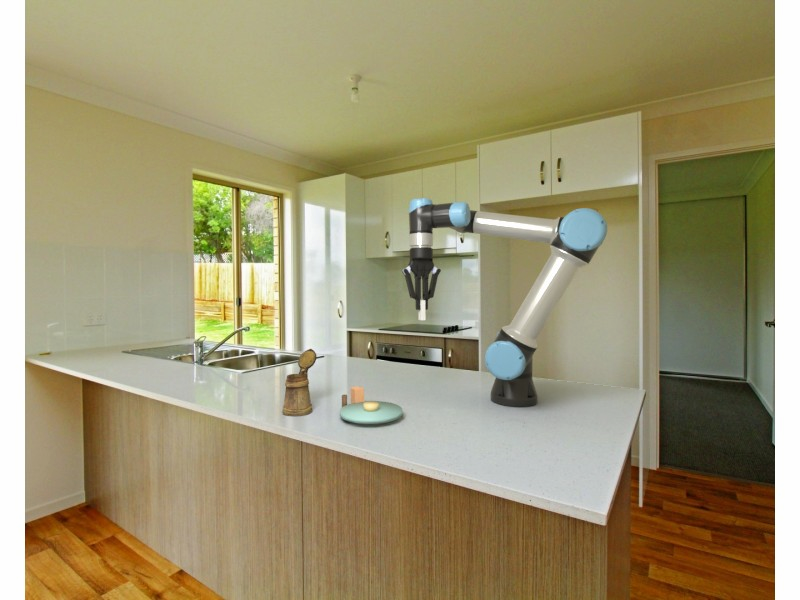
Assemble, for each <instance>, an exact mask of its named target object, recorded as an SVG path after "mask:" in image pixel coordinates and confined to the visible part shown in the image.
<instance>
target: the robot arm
mask: <svg viewBox="0 0 800 600" xmlns="http://www.w3.org/2000/svg"><path fill="white" fill-rule="evenodd" d="M408 208H409V209H408V210H409V211H408V221H409V222H408V223H409V225H408V226H409V227H408V228H409V247H410V248H409V263H408V266H407V267H405V268H403V269H401V272H402V274H403V275H404V278H405V284H406V286H407V291H408V293H409V297H410V299H414V300H415V310H416V311H418V319H417V320H418V321H427V320H426V318H427V317H426V311H427V310H429V300H430V299H432V298H434V295H435V293H436V292H435V291H436V287H437V281H438V276H439V275H440V274H441V268H437V267H436V266H435V264H434V256H433V255H434V249H433V248H432V247H433V245H434V244H433V240H434V239H433V229H444V228H447V229H452V230H454V231H456V232H458V233H461V234H465V233H469V234H476V235H485V236H491V237H500V238H507V239H513V240H521V241H530V242H536V243H543V244H550V245H549V247H550V252H551V254H550V255H549V257H548V259H547V260H546V262H545V264H544V266H543V267H542V270H540V273H539V274H538V276H537V278H536V279H535V281H534V283H533V284H532V286H531V288H530V290H529V292H528V293H527V295H526V297H525V298H524V300H523V302H522V303H521V305H520V306H519V308H518V310H517V312H516V314H515V316H514V317H513V319H512V321H511V322H510V324H508V325H504V326H502V328H501V329H500V331H499V330H498V331H497V332H496V336H495V339H494V341H493V342H492V343H491V344H490V345H489V346H488V347H487V349H486V351H485V355H484V363H485V366H486V369H487V370H488V372H489V373H490V374H491V375H492V376H494V382H493V385H492V388H491V390H490V401H491V402H493V403H494V404H498V405H501V406H508V407H519V408H521V407H522V408H523V407H525V408H526V407H532V406H535V405H537V404H538V393H537V390H536V389H537V388H536V386H535V383H534V380H533V356H534V354H535V352H536V351H537V349H538V347H539V346H538V343H537V339H538V337H539V335H540V334H541V331H543V329H544V327H545V326H546V324H547V322H548V320H549V319H550V318H551V315H552V313H554V310H555V309H556V308H557V305H558V304H559V302H560V301H561V300H562V297H563V296H564V294H565V293H566V291H567V289H568V288H569V286H570V284H571V283H572V281H573V279H574V277H575V276H576V275H577V272H578V271H579V269H580V268H582V267H586V266H588V265H589V264H590V262H591V261H592V259H593V257H594V256H595V255H596V253H597V251H598V250H599V247H601V246H602V244H603V243H604V240H605V239H606V237H607V233H608V225H607V223H608V222H607V221H606V219H605V218H604V216H603V215H602V214H601V213H599V211H597V210H595V209H592V208H589V207H580V208H577V209H573V210H572V211H570V212H569V213H567V214H566V215H565V216H558V217H557V218H554V219H551V218H544V217H543V218H542V217H536V216H535V217H534V216H526V215H515V214H508V213H507V214H506V213H498V212H490V211H481V210H474V209H473V210H471V207H470V206H469V204H468V203H467V202H466V201H462V202H461V201H455V202H449V203H439V204H436V203H435V204H433V200H432V199H430V198H427V197H426V198H425V197H423V198H421V197H420V198H413V199H412V200H410V202H409V207H408ZM411 272H412V274H413V277H414V283H413V280H412V276H411ZM430 273H432V274H431V276H430ZM429 277H431V278H430V283H429ZM421 284H422V285H421Z"/></svg>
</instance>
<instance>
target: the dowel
mask: <svg viewBox="0 0 800 600" xmlns="http://www.w3.org/2000/svg"><path fill="white" fill-rule="evenodd" d="M345 405H348V394H342V395H341V408H342V407H343V406H345Z"/></svg>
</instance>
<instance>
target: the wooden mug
mask: <svg viewBox="0 0 800 600" xmlns="http://www.w3.org/2000/svg"><path fill="white" fill-rule="evenodd" d="M317 356H318V355H317V353H316V352H315V350H313V348H309V349H306V350H305V351H303V352H302V353H301V354H300V355H299V358H298V360H297V366H298V367H299V372H298V373H292V374H287V375H286V379H285V383H284V384H285V385H284V386H285V390H284V391H285V392H284V399H283V406H282V412H281V413H282V415H284V416H288V417H301V416H306V415H310V414H312V412H313V404H312V403H311V394H310V386H309V384H310V382H309V381H310V380H309V378H308V377H309V375H308V374H309V373H308V371H309V369H310V368H312V367H313V366H314V365H315V363H316V360H317Z"/></svg>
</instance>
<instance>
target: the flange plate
mask: <svg viewBox="0 0 800 600" xmlns="http://www.w3.org/2000/svg"><path fill="white" fill-rule="evenodd" d="M339 416H340V418H341V419H342V420H344V421H347V422H348V423H349V422H350V423H353V424H354V423H355V424H363V425H370V424H371V425H372V424H373V425H376V424H383V423H384V424H385V423H389V422H394V421H397V420H399V419H400V418H401V417H403V408H402V406H401V405H399V404H396V403H392V402H388V401H381V400H368V401H367V400H365V388H363V387H361V386H359V385H358V386H352V387H350V403H347V405H345V406H343V407H342V406H341V408H340V409H339Z"/></svg>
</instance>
